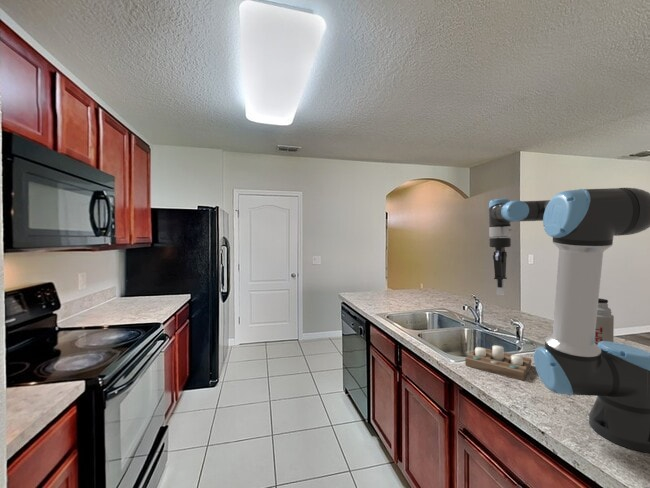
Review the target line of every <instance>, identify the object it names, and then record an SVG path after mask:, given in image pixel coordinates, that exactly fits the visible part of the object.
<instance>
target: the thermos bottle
mask: <svg viewBox="0 0 650 488" xmlns="http://www.w3.org/2000/svg"><path fill="white" fill-rule="evenodd" d="M608 303H609V300H608V299H605V298H599V299H598V309H597V319H596V329H595V339H594V343H595V344H596V345H598V343H599V342H601V341H609V342H614V334H615V333H614V332H615V331H614V323H615V322H614V321H615V320H614V319H615V318H614V315H613V314H612V313H613V311H612V309H611V308H610V307H609V304H608Z"/></svg>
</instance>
